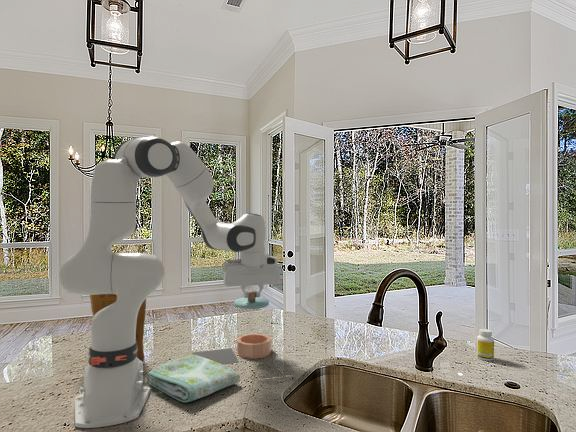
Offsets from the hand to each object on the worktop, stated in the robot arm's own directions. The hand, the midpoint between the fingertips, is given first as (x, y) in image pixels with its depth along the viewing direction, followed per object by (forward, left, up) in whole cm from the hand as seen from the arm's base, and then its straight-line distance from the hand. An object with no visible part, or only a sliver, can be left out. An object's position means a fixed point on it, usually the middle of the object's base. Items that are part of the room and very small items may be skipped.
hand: (251, 297), depth 138 cm
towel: (-20, +22, -20) cm, 36 cm away
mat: (-1, +13, -20) cm, 24 cm away
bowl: (0, -1, -20) cm, 20 cm away
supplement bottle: (-29, -77, -20) cm, 85 cm away
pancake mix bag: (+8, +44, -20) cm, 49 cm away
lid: (0, 0, -2) cm, 2 cm away
